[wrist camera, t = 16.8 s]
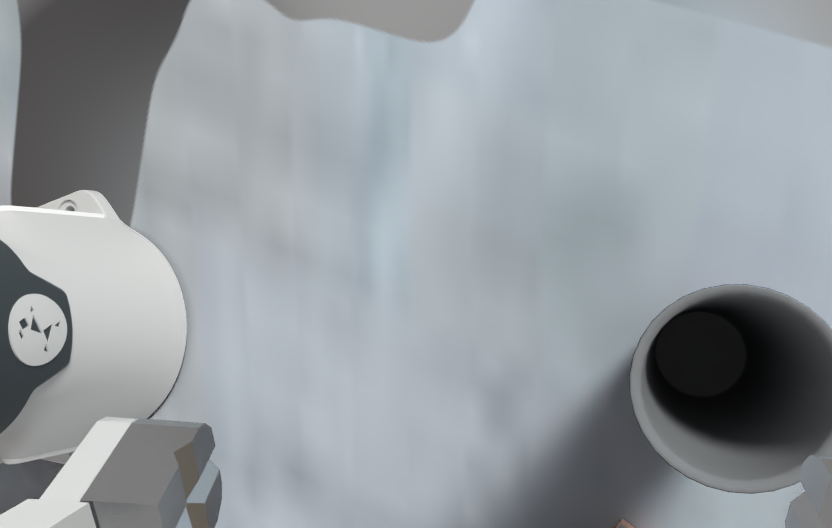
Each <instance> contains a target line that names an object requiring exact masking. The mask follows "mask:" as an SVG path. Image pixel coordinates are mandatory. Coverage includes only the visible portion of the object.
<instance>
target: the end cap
mask: <svg viewBox="0 0 832 528" xmlns="http://www.w3.org/2000/svg"><path fill="white" fill-rule="evenodd" d="M615 528H634V527H633V526H632V525H630V524H629V523H628V522H627V521H625V520H624V519H623V518H622V519H621V521H620V522H619V523H618V525H617V526H616V527H615Z"/></svg>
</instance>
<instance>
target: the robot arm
mask: <svg viewBox="0 0 832 528" xmlns="http://www.w3.org/2000/svg"><path fill="white" fill-rule="evenodd" d="M74 209H75V211H74ZM186 337H187V320H186V310H185V304H184V299H183V295H182V292H181V288H180V286H179V283H178V280H177V278H176V276H175V274H174V272H173V270H172V268H171V266H170V265H169V263H168V261H167V260H166V258H165V257H164V256H163V254H162V253H161V252H160V251H159V250H158V249H157V248H156V247H155V246H154V245H153V244H152V243H151V242H150V241H149V240H148V239H147V238H145V237H144V236H142V235H141V234H139V233H138V232H136V231H134V230H133V229H131V228H130V227H128V226H127V225H125V224H124V223H123V222H122V221H121V220H120V219H119V218H118V216H117V214H116V213H115V212H114V210H113V208H112V207H111V205H110V204H109V202H108V201H107V200H106V199H105V197H104V196H102V194H100V193H99V192H97V191H90V190H81V191H77V192H74V193H72V194H69V195H67V196H64V197H62V198H60V199H57V200H54V201H52V202H49V203H47V204H44V205H42V206H39V207H37V208H32V207H20V206H0V464H2V463H5V464H19V463H24V462H28V461H33V460H37V459H42V460H46V461H51V462H55V463H60V464H64V466H63V467H62V469H61V470H60V471H59V473H58V474H57V475H56V477H55V478H54V480H53V481H52V482H51V484H50V485H49V486H48V488H47V489H46V490H45V492H44V493H43V494H42V496H41V497H40V498H39V499H27V500H25V501H24V502H22V503H20V504H18V505H17V506H15V507H13V508H11V509H10V510H8V511H6V512H4V513H3V514H1V515H0V528H215V525H216V523H217V520H218V515H219V510H220V505H221V500H222V481H221V475H220V469H219V468H218V467H217V466H216V465H215V464H214V463H213V462H212V461H211V460H210V459H209V458H210V456H211V454H212V452H213V450H214V447H215V441H214V437H213V432H212V428H211V427H210V426H209V425H207V424H206V423H193V422H180V421H167V420H154V419H147V418H148V417H149V416H150V415H151V414H152V413H153V412H154V411H155V410H156V409H157V408H158V407H159V406H160V405H161V404H162V402H163V401H164V400H165V398H166V397H167V395H168V394H169V392H170V390H171V389H172V387H173V385H174V383H175V381H176V378H177V376H178V373H179V371H180V368H181V365H182V361H183V357H184V352H185V346H186ZM798 478H799V480H800V482H801V484H802V486H803V487H804V489H805V492H804V493H802V494H801V495H800V496H798V497H797V498H795V499H794V500H793V501H791V502H790V506H789V509H788V513H787V517H786V521H785V527H786V528H832V456H822V455H810V456H809V457H808V458H807V459H806V460H805V461H804V462H803V465H802V468H801V471H800V474H799V477H798Z"/></svg>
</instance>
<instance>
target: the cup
mask: <svg viewBox="0 0 832 528" xmlns="http://www.w3.org/2000/svg"><path fill="white" fill-rule="evenodd" d="M630 397H631V402H632V406H633V411H634V415H635V417H636V419H637V422H638V424H639V426H640V428H641V431H642V433H643V434H644V436H645V437H646V439H647V440H648V442H649V443H650V445H651V446H652V447H653V449H654V450H655V451H656V452H657V453H658V454H659V455H660V456H661V457H662V458H663V459H664V460H665V461H666V462H667V463H668V464H669V465H670V466H672V467H673V468H674V469H676V470H677V471H679V472H680V473H682V474H683V475H684V476H686V477H688V478H690V479H692V480H694V481H696V482H698V483H701V484H703V485H705V486H707V487H711V488H715V489H719V490H723V491H727V492H735V493H749V494H752V493H761V492H770V491H775V490H779V489H782V488H785V487H788V486H791V485H794V484H796V483H798V482H800V480H799V478H798V477H799V474H800V471H801V468H802V465H803V462H804V461H805V460H806V459H807V458H808V457H809V456H810V455H822V456H832V330H831V328H830V327H829V326H828V324H827V323H826V322H825V321H824V320H823V319H821V318H820V317H819V316H818V315H817V314H816V313H815V312H813V311H812V310H811V309H810V308H809V307H807V306H805V305H804V304H802V303H800V302H799V301H797V300H795V299H794V298H792V297H790V296H788V295H785V294H782V293H780V292H777V291H774V290H772V289H769V288H764V287H758V286H752V285H747V284H741V285H720V286H714V287H709V288H704V289H701V290H699V291H696V292H693V293H691V294H688V295H686V296H683V297H682V298H680V299H679V300H677V301H676V302H674V303H672V304H671V305H669V306H668V307H666V308H665V309H664V310H663V311H662V312H661V313H660V314H659V315H658V316H657V317H656V318H655V319H654V320H653V321H652V322H651V323H650V325H649V326H648V328H647V329H646V331H645V332H644V334H643V335H642V336H641V338H640V341H639V343H638V345H637V348H636V350H635V352H634V355H633V359H632V365H631V370H630Z"/></svg>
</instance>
